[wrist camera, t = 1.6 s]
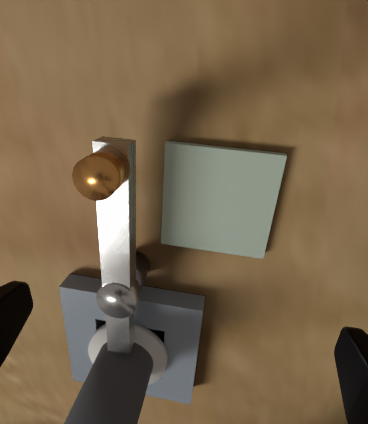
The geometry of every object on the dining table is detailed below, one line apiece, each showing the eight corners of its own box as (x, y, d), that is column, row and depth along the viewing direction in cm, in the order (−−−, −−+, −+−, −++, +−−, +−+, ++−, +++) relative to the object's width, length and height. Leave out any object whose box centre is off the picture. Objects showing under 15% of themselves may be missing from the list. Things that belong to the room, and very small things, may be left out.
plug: (173, 313, 24) (143, 434, 16) (170, 365, 27) (142, 490, 19) (98, 300, 24) (32, 409, 16) (102, 352, 27) (48, 467, 19)
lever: (156, 130, 18) (121, 156, 12) (150, 313, 24) (126, 382, 19) (114, 126, 18) (63, 149, 13) (120, 308, 24) (88, 375, 19)
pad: (285, 153, 17) (287, 155, 16) (262, 253, 20) (263, 258, 20) (167, 140, 18) (165, 142, 17) (162, 239, 21) (160, 243, 20)
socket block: (205, 296, 22) (203, 311, 21) (193, 387, 27) (190, 404, 26) (69, 273, 24) (59, 286, 22) (81, 364, 28) (73, 380, 27)
